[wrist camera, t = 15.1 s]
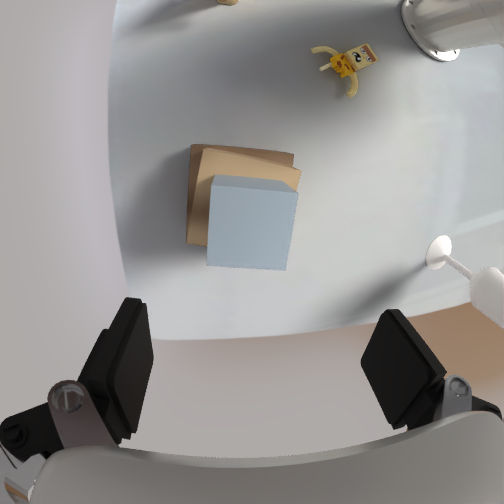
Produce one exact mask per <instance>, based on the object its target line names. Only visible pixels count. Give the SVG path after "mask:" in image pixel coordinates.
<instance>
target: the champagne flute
mask: <svg viewBox="0 0 504 504" xmlns="http://www.w3.org/2000/svg"><path fill="white" fill-rule="evenodd" d="M450 252H451V241H450V239H449V238H448V237H447V236H443V235H442V236H439V237H437V238H436V239H435V240H434V241H433V242H432V243H431V245H430V247H429V249H428V251H427V255H426V262H427V265H428V267H429V268H430V269H433V270H436V269H438V268H440V267H442V266H443V265H444V264H445V263H446V262H447V263H448V264H450V265H451V266H453V267H454V268H455V269H456V270H458V271H459V272H460V273H462V274H463V275H464V276H466V277H467V278H468V279H469V280H470V298H471V302H472V304H473V306H474V307H475V308H477V309H478V310H479V311H481V312H482V313H484V314H485V315H486V316H487V317H489V318H490V319H492V320H493V321H494V322H495V323H497V324H498V325H499V326H500V327H502V328H503V329H504V275H503V274H502V273H501V272H500V271H499V270H497V269H496V268H494V267H488V268H484V269H482V270H480V271H478V272H476V273H475V274H473V273H472V272H471V271H469V270H468V269H467V268H465V267H464V266H463V265H461V264H460V263H458V262H457V261H456V260H454V259H453V258H451V257H450V256H449V255H450Z"/></svg>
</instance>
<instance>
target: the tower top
mask: <svg viewBox="0 0 504 504" xmlns="http://www.w3.org/2000/svg"><path fill="white" fill-rule="evenodd" d="M215 174H218V175H231V176H243V177H254V178H264V179H273V180H282V181H283V182H285V183H286V184H287V185H288V186H290V187H291V188H292V189H293V190H295V191H296V190H297V186H298V182H299V179H300V175H301V171H300V170H298V169H296V168H294V167H292V166H289V165H285V164H281V163H277V162H273V161H269V160H265V159H260V158H256V157H252V156H247V155H242V154H238V153H233V152H228V151H223V150H217V149H212V148H205V149H203V154H202V159H201V163H200V168H199V173H198V178H197V184H196V189H195V194H194V200H193V206H192V212H191V217H190V224H189V230H188V236H187V243H188V244H194V245H199V246H205V247H207V245H208V227H209V211H210V197H211V185H212V182H213V180H214V177H215Z"/></svg>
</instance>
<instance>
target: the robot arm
mask: <svg viewBox="0 0 504 504" xmlns="http://www.w3.org/2000/svg"><path fill="white" fill-rule="evenodd" d="M401 12H402V18H403V21H404V24H405V26H406V28H407V30H408V32H409V34H410V35H411V36H412V38H413V39H414V41H415V42H416V43H417V44H418V46H419V47H420V48H421V49H422V50H423V51H425V52H426V53H427V54H428V55H430V56H431V57H433V58H435V59H437V60H439V61H451V60H454V59H455V58H456V57H457V56H458V54H459V50H461V49H466V48H472V47H478V46H484V45H492V44H500V43H504V0H405V1H404V2H403V4H402V8H401ZM152 365H153V349H152V343H151V336H150V329H149V321H148V313H147V306H146V303H142V301H141V299H138V298H129V297H126V298H125V300H124V301H123V303H122V305H121V307H120V309H119V311H118V312H117V314H116V316H115V318H114V320H113V322H112V324H111V326H110V327H109V329H104V330H102V332H101V333H100V335H99V337H98V339H97V341H96V343H95V345H94V347H93V349H92V351H91V353H90V355H89V357H88V359H87V361H86V363H85V365H84V367H83V369H82V371H81V374H80V376H79V378H78V380H77V381H74V380H64V381H60V382H58V383H56V384H55V385H54V386H53V387H52V388H51V389H50V391H49V393H48V398H47V400H48V402H47V403H45V404H42V405H39V406H37V407H34V408H31V409H29V410H26V411H24V412H21V413H18V414H16V415H13V416H10V417H8V418H6V419H5V420H4V421H3V422H2V423H1V425H0V504H504V418H503V419H502V415H501V412H500V409H499V408H498V407H497V406H495V405H493V404H491V403H489V402H486V401H484V400H482V399H479V398H477V397H474V396H472V391H471V387H470V385H469V383H468V382H467V381H466V380H465V379H464V378H463V377H461V376H458V375H450V376H448V377H447V378H446V380H444V378H443V377H444V376H445V374H446V373H447V371H446V370H445V368H444V367H443V366H442V364H441V363H440V362H439V360H438V359H437V358H436V356H435V355H434V353H433V352H432V351H431V349H430V348H429V347H428V345H427V344H426V343H425V341H424V340H423V339H422V338H421V336H420V335H419V334H418V332H416V330H415V329H414V327H413V326H412V325H411V323H410V322H409V321H408V320H407V319H406V317H405V316H404V315H403V314H402V312H401V311H400V310H399V309H387V310H385V311H384V313H382V314H381V316H380V318H379V321H378V323H377V325H376V328H375V330H374V332H373V334H372V337H371V339H370V341H369V343H368V345H367V347H366V350H365V352H364V354H363V356H362V358H361V367H362V369H363V371H364V373H365V375H366V377H367V379H368V381H369V383H370V385H371V387H372V389H373V391H374V393H375V395H376V397H377V400H378V402H379V404H380V406H381V408H382V410H383V413H384V415H385V417H386V419H387V421H388V423H389V424H391V425H392V427H393V429H394V430H395V429H398V428H401V427H404V426H405V425H407V427H408V428H407V431H406V432H404V433H401V434H397V435H394V436H391V437H387V438H384V439H380V440H376V441H372V442H368V443H364V444H360V445H355V446H350V447H346V448H341V449H335V450H329V451H323V452H316V453H309V454H301V455H291V456H278V457H263V458H262V457H261V458H216V457H197V456H184V455H174V454H166V453H158V452H151V451H143V450H136V449H129V448H120V447H119V446H118V444H120V443H121V441H122V438H124V439H129V440H130V438H131V433H136V431H137V428H138V423H139V419H140V414H141V410H142V405H143V401H144V397H145V392H146V389H147V385H148V380H149V377H150V373H151V369H152ZM35 479H36V481H35V482H34V480H35ZM33 485H34V487H33V490H32V494H31V497H30V502H29V501H28V497H27V496H28V491H29V489H30V488H31V487H32V486H33Z"/></svg>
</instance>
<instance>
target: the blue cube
mask: <svg viewBox="0 0 504 504" xmlns="http://www.w3.org/2000/svg"><path fill="white" fill-rule="evenodd" d="M297 198H298V193H297V192H296V191H295V190H293V189H292V188H291V187H290V186H288V185H287V184H286V183H285V182H283V181H282V180H273V179H264V178H254V177H243V176H231V175H218V174H215V177H214V180H213V182H212V185H211V197H210V211H209V227H208V245H207V266H219V267H234V268H251V269H267V270H286V265H287V259H288V253H289V247H290V242H291V236H292V230H293V223H294V217H295V211H296V205H297Z"/></svg>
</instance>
